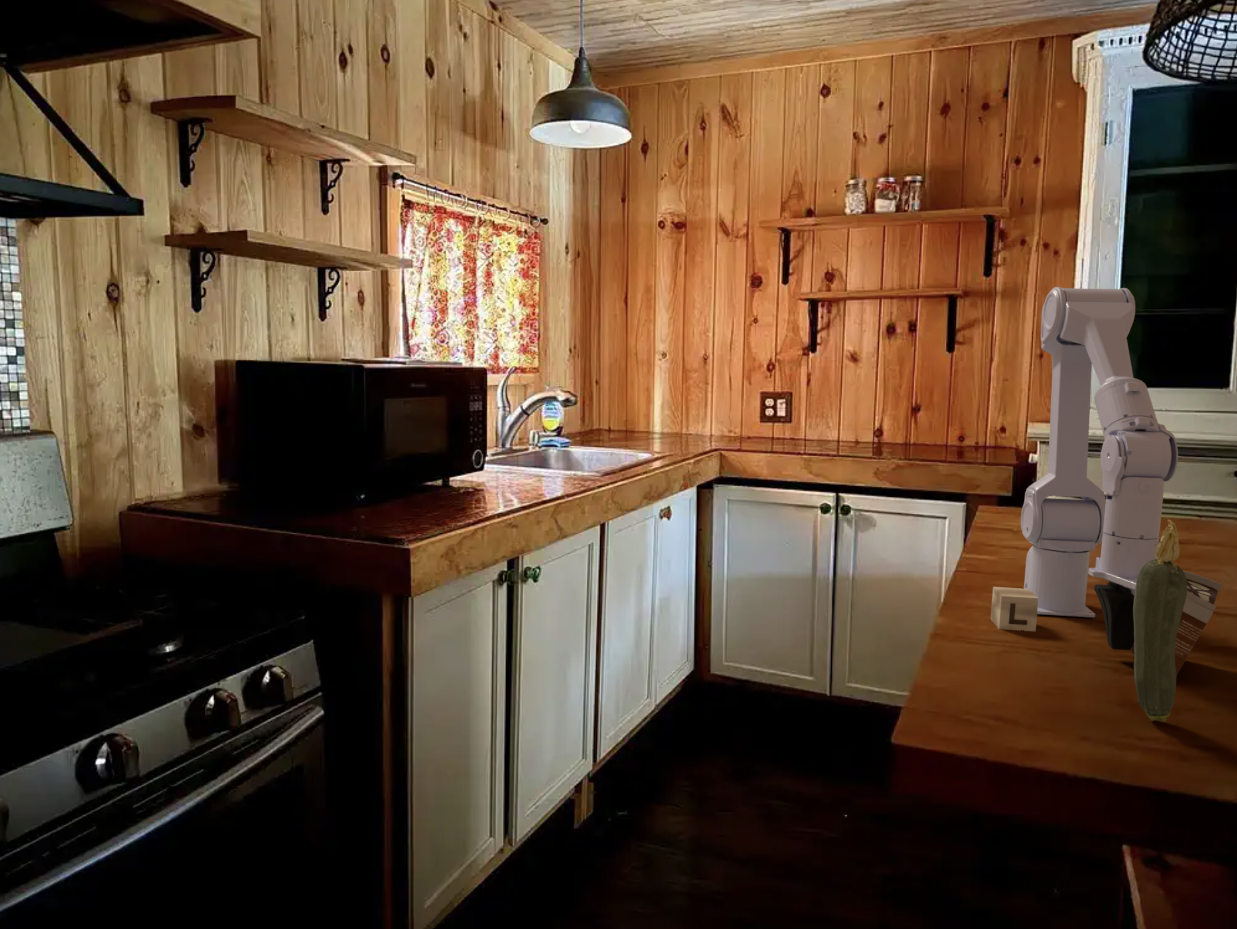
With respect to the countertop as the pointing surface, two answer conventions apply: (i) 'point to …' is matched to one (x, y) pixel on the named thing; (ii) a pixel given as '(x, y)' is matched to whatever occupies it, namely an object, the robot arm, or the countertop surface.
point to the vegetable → (1158, 626)
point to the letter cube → (1014, 609)
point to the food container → (1194, 614)
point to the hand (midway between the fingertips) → (1119, 648)
